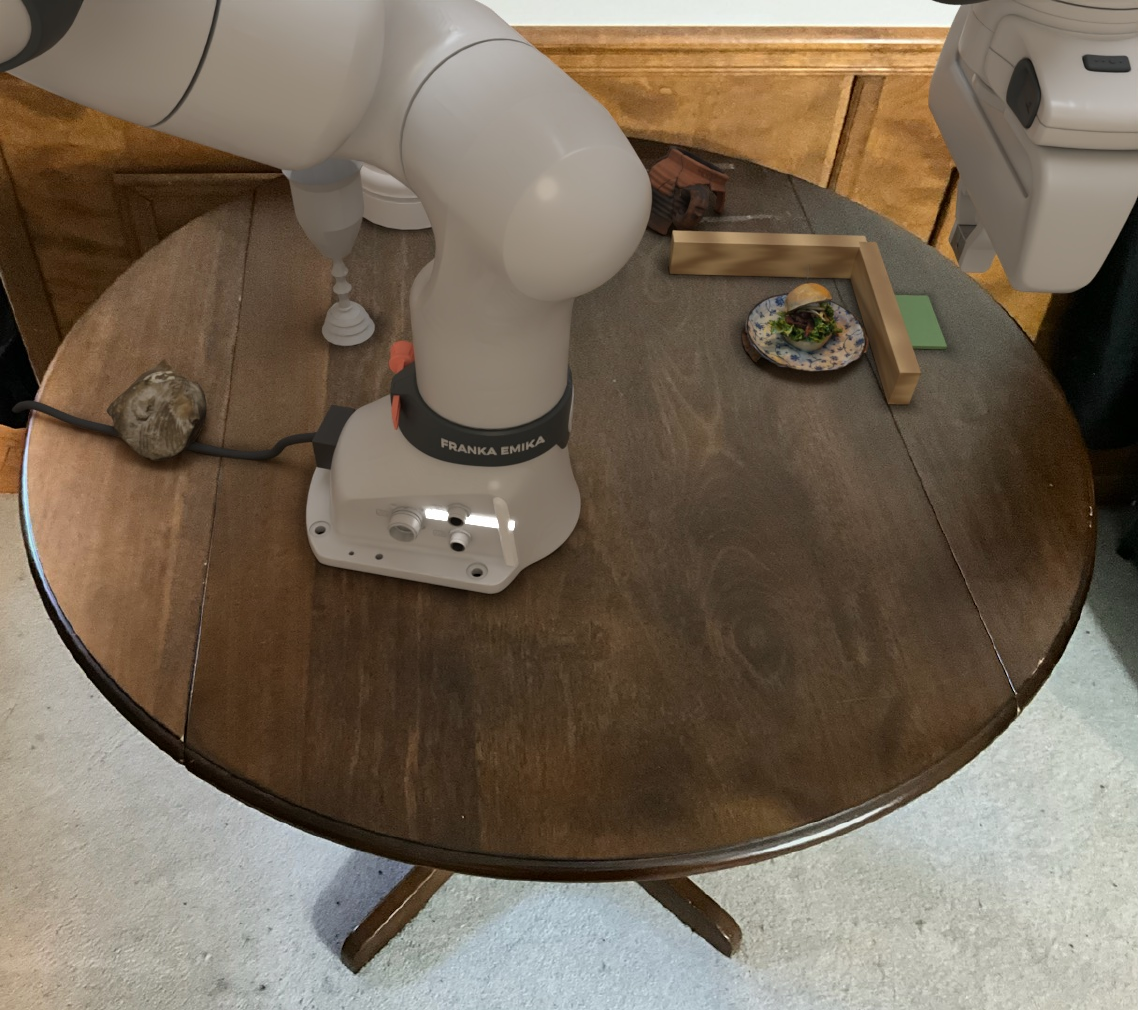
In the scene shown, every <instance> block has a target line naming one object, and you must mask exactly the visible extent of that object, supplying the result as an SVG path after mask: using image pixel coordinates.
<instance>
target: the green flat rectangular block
mask: <svg viewBox="0 0 1138 1010" xmlns="http://www.w3.org/2000/svg"><path fill="white" fill-rule="evenodd" d="M894 295H895V297H896V300H897V303H898V306H899V309H900V312H901V315H902V318H903V321H904V324H905V327H906V330H907V333H908V335H909V338H910V341H911V344H912V347H913V350H947V348H948V344H947V342H946V340H945V337H944V334H943V332H942V329H941V327H940V324H939V320H938V318H937V315H936V313H935V311H934V308H933V305H932V302H931V300H930V297H929V295H917V294H894Z"/></svg>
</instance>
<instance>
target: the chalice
mask: <svg viewBox="0 0 1138 1010" xmlns="http://www.w3.org/2000/svg"><path fill="white" fill-rule="evenodd" d="M363 163H364V162H361V161H356V160H349V159H335V158H328V159H327V160H325V161H324V162H322V163H320V164H318V165H316V166H314V167H311V168H308V169H304V170H297V171H290V170H282V169H281V172H282V174H283V175H284V176H285V178H286V179H287V180H288V182H289V186H290V192H291V193H290V194H291V198H292V203H293V209H294V213H295V218H296V221H297V222H298V224H299V226H300V227H301V230H302V231H303V232H304V234H305V236H306V238H307V239H309V241H310V242H311V244H312V245H313V246H314V247H315V248H316V249H317V251H318V252H319V253H320V255H321V256H323V257H324V258H326V259H330V260H332V269H331V270H330V275H332V276H333V277H334V279H335V284H334V285H333V286H332V291H333V292H334V293H335V294H337V297H338V301H337V302H335V303H334V304H332V305H331V306H330V308H329V309H328V310H327V312H326V317H325V319H324V323H323V325H322V327H321V333H322V336H323V338H324V339H325V340H326V341H327V342H328V343H331V344H333V345H336V346H341V347H348V346H349V347H350V346H355V345H360V344H362V343H364V342H366V341H367V340H368V339H370V338H371V337H372V336H373V334H374V332H375V328H376V327H375V326H376V325H375V323H374V321H373V319H372V318H371V317H370V315H369V313H368V312H367V311H366V309H365V308H364V307H363V305H361V304H360V303H358V302H356V301H353V300H350V298H349V293H350V292H351V291H352V289H353V288H352V284H350V283H349V282H348V281H347V276H348V274H349V269H348V267H347V266H346V265H345V262H344V258H345V257H347V256H348V255H350V254H351V252H352V251H353V248H354V245H355V242H356V240H357V238H358V235H359V234H360V230H361V226H362V222H363V218H364V217H363V214H364V199H363V191H362V183H361V175H360V171H361V168H362V166H363Z"/></svg>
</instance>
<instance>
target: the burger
mask: <svg viewBox="0 0 1138 1010" xmlns="http://www.w3.org/2000/svg"><path fill="white" fill-rule="evenodd" d="M808 276H809V265H808V274H807V277H806V278H809V277H808ZM832 300H833V297H832V295H831V292H830V291H829V290H828V289H827V288H826V287H824V286H823V285H822V284H820V283H814V282H809V280H807V283H802V284H800V285H798V286H796V287H795V288H794V289H793V290H791V291H790V292H784V293H781V294H773V295H771V296H768V297H766V298H764V299H762V300H760V301H759V302H758V303H756V304H755V305H754V306H753V307H752V308H751V309H750V310H749V312H748V313H747V316H746V319H745V324H744V326H743V329H742V334H741V340H742V345H743V347H744V350H745V352H747V353H748V354H749V357H750V358H751V359H752V361H753V362H755V363H757V362H758V361H759V360H760V359H761V358H763V359H765V360H766V361H769V362H770V363H772V364H774V365H775V366H776V367H781V368H790V369H794V370H796V371H801V372H816V373H817V372H823V371H824V372H825V371H836V370H837V371H838V370H840V369H842V368H845V367H847V366H848V365H850V364H851V363H853V362H854V361H857V360H858V359H860V358H861V357H862V355H864V353H867V351H868V349H869V344H870V343H869V338H868V336H867V333H866V329H865V326H864V325H862V321H861V320H860V318H858V316H856V315H855V314H854V313H853V312H852V311H850V310H849V309H847V308H846V307H845V306H842V305H840V304H839V303H837V302H835V301H832Z"/></svg>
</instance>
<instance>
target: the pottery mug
mask: <svg viewBox="0 0 1138 1010" xmlns="http://www.w3.org/2000/svg"><path fill="white" fill-rule="evenodd" d="M650 167H651V169H650V170H649V172H648V176H649V179H650V183H651V189H652V206H651V212H650V217H649V221H648V224H647V227H648V228H650V229H651V230H653V231H655V232H657V233H659V234H661V235H664V236H666V235H667V234H668V232H669V229H670V227H671V226H672V223H673V225H674V228H676V229H677V231H694V230H695V228H696V226H697V225H699V223H700V222H701V221H702V220H703V218H704V216H705V215H706V212H707V211H708V208H709V204H710V191H711V192H712V194H713V195H714V196H715V197H716V199H715V204H714V211H715V212H716V213H722V211H723V209H724V208H725V203H726V196H727V195H726V194H727V191H726V186H725V185H726V184H727V182H728V181H729V179H730V176H728V175H727V174H726V173H725V171H724V170H723V169H722V168H720V167H718V166H717V165H715V164H714V163H713V162H710V161H708V160H707V159H705V158H703V157H701V156H699V155H697V154H695V153H693V152H691V151H689V150H686V149H684V148H683V147H678V146H676V145H670V146H668V148H667V153H666V155H663V156H661V157H659V158H658V159H656V160H655V161H653V162H652V164H651V166H650ZM707 187H708V188H707ZM676 189H679V190H680V195H678V196H675V194H676Z"/></svg>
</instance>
